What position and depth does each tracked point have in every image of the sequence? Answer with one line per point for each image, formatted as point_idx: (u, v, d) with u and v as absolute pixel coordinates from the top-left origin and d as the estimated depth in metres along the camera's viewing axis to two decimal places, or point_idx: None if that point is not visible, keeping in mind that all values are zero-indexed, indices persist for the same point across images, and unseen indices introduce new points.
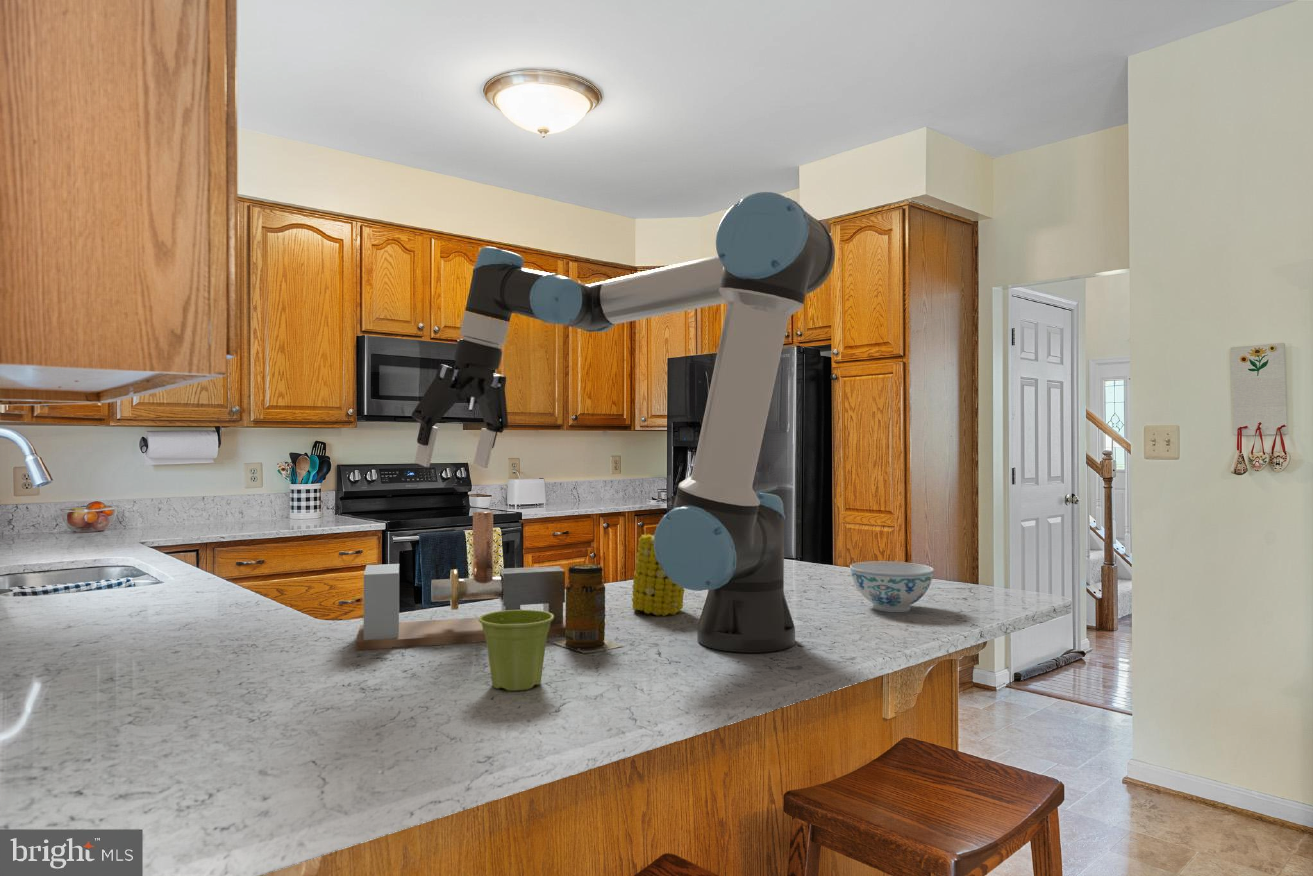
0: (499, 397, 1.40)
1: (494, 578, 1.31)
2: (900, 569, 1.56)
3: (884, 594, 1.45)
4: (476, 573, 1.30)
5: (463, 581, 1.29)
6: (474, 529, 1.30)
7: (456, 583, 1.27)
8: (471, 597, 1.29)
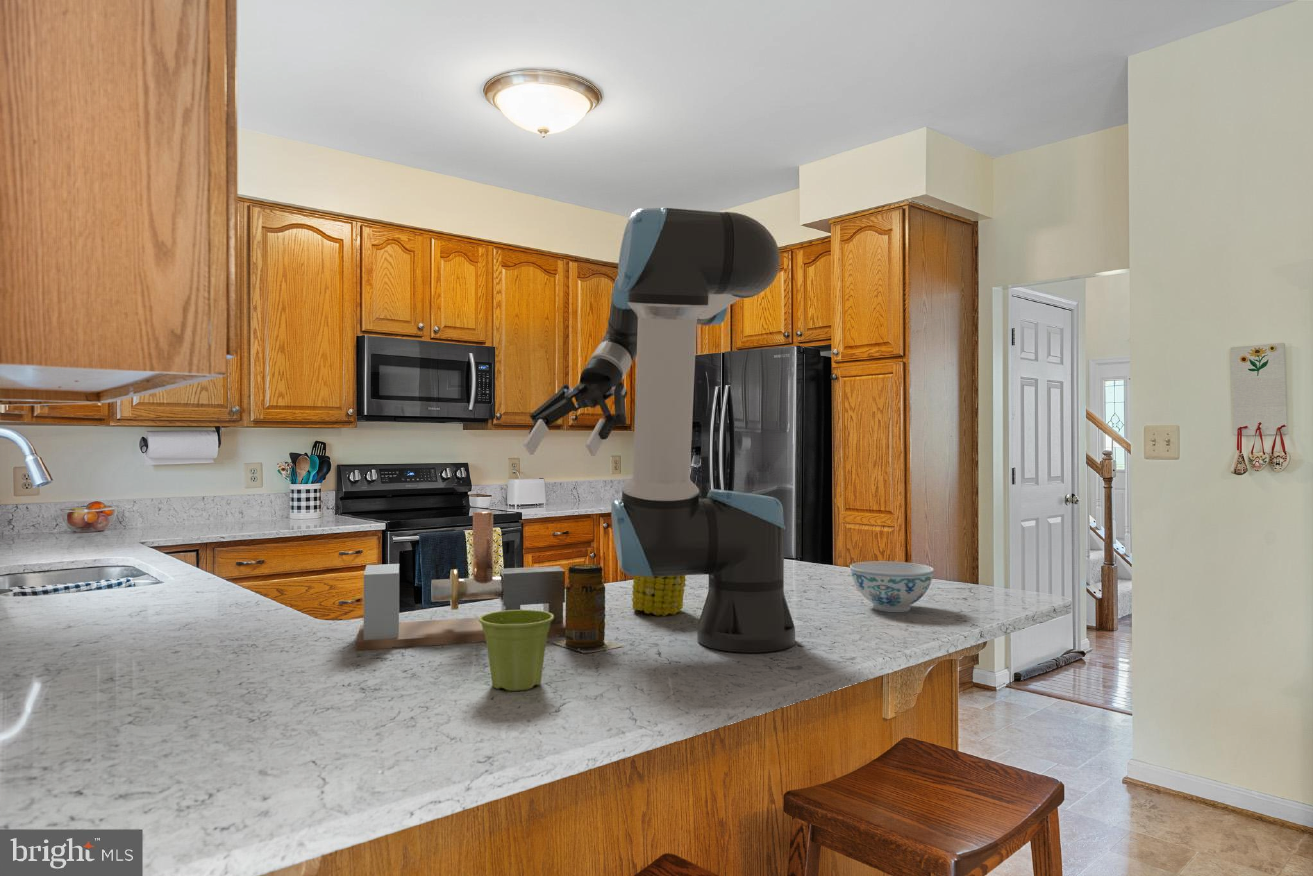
0: None
1: (494, 578, 1.31)
2: (900, 569, 1.56)
3: (884, 594, 1.45)
4: (476, 573, 1.30)
5: (463, 581, 1.29)
6: (474, 529, 1.30)
7: (456, 583, 1.27)
8: (471, 597, 1.29)
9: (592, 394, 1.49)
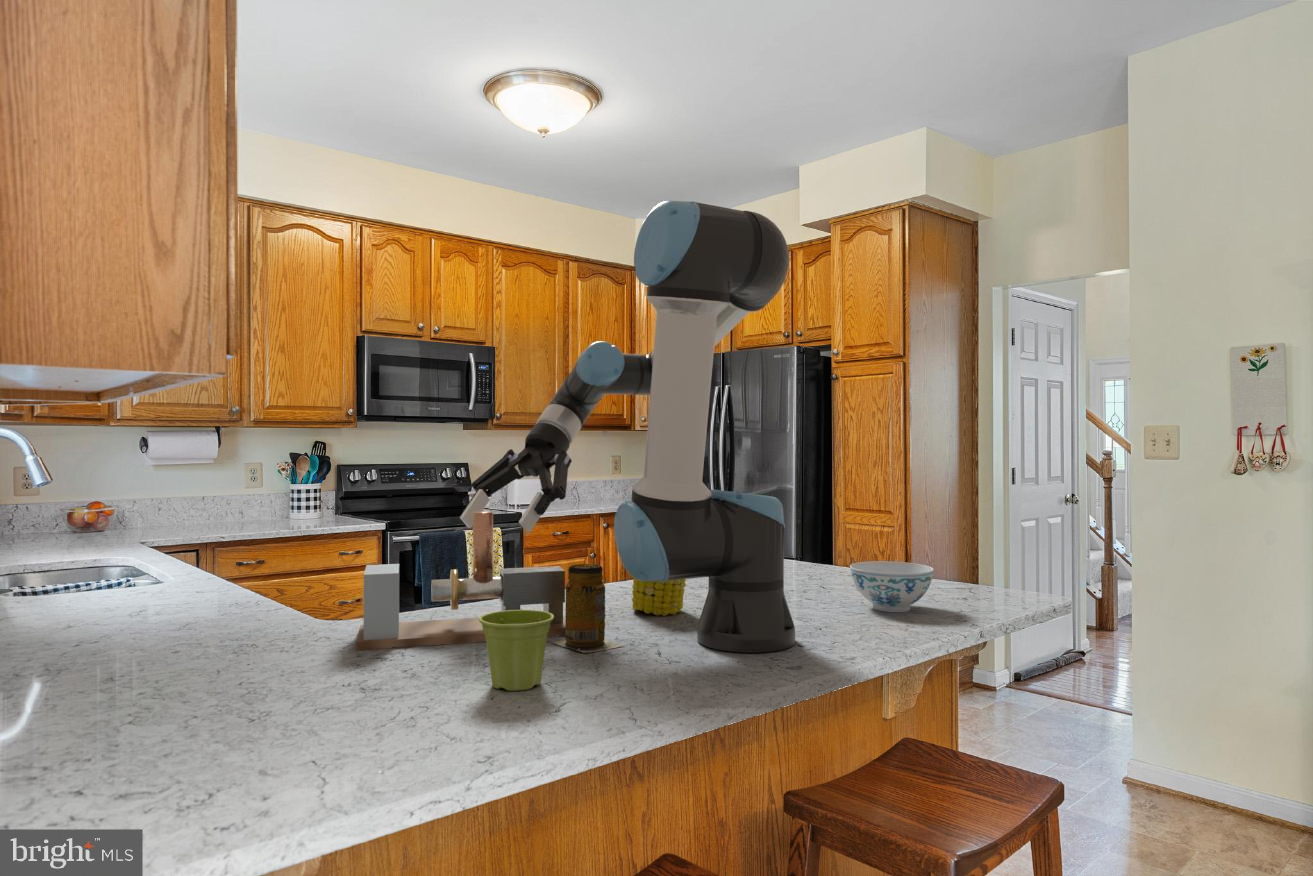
0: None
1: (494, 578, 1.31)
2: (900, 569, 1.56)
3: (883, 594, 1.45)
4: (476, 573, 1.30)
5: (463, 581, 1.29)
6: (474, 529, 1.30)
7: (456, 583, 1.27)
8: (471, 597, 1.29)
9: (534, 462, 1.41)
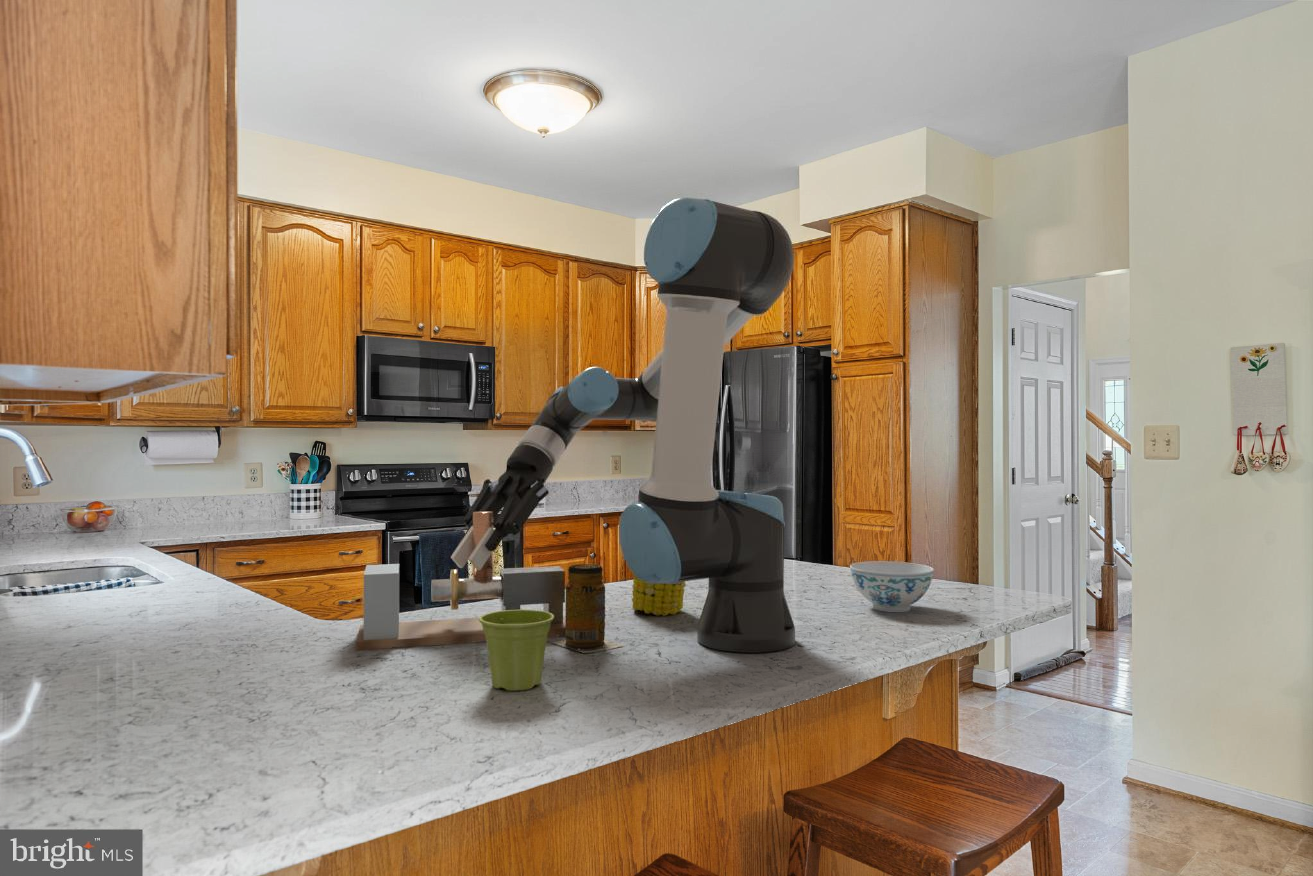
0: None
1: (494, 578, 1.31)
2: (900, 569, 1.56)
3: (884, 594, 1.45)
4: (476, 573, 1.30)
5: (463, 581, 1.29)
6: (474, 529, 1.30)
7: (456, 583, 1.27)
8: (471, 597, 1.29)
9: None
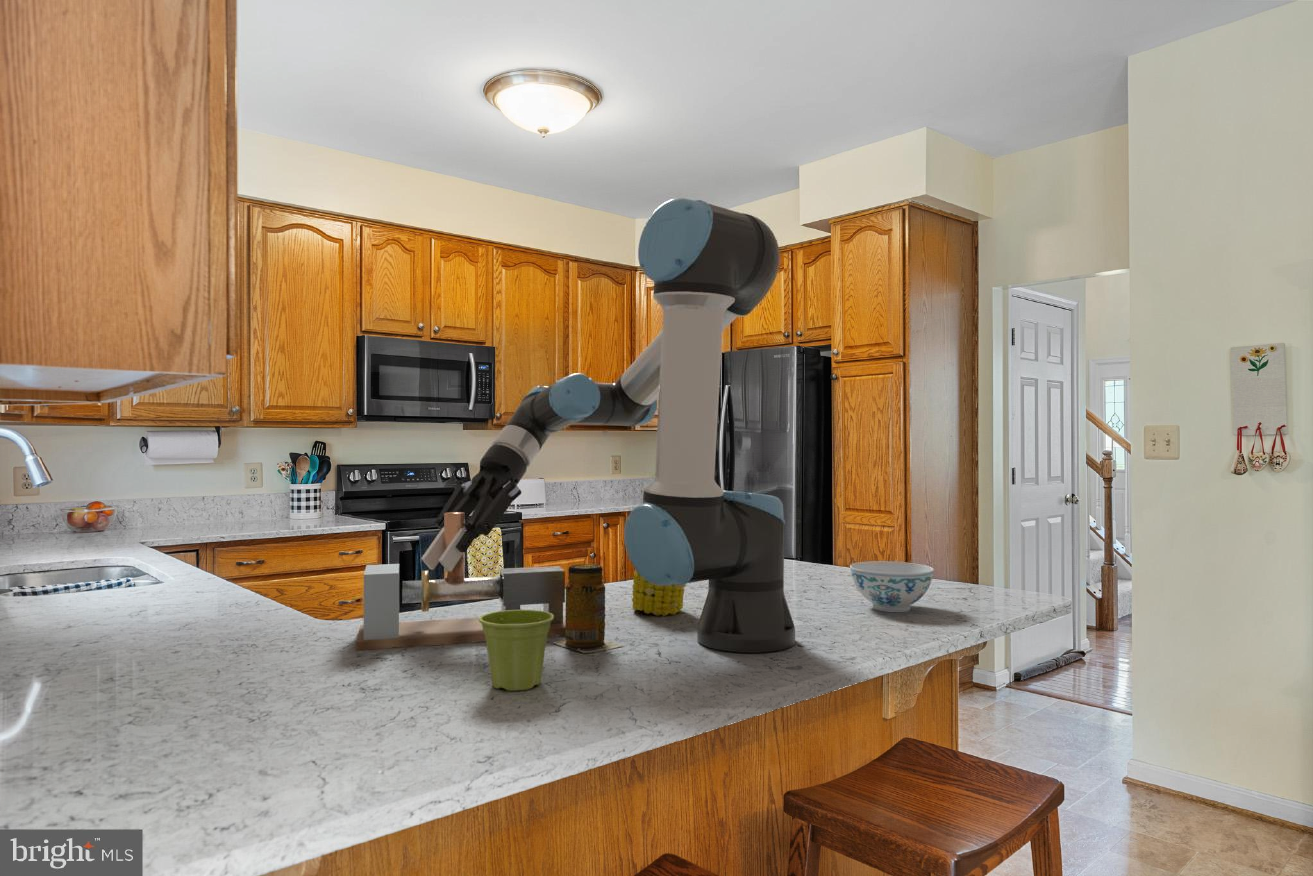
0: None
1: (466, 579, 1.30)
2: (900, 569, 1.56)
3: (884, 594, 1.45)
4: (447, 574, 1.28)
5: (434, 583, 1.28)
6: (445, 530, 1.29)
7: (427, 584, 1.26)
8: (442, 599, 1.28)
9: None
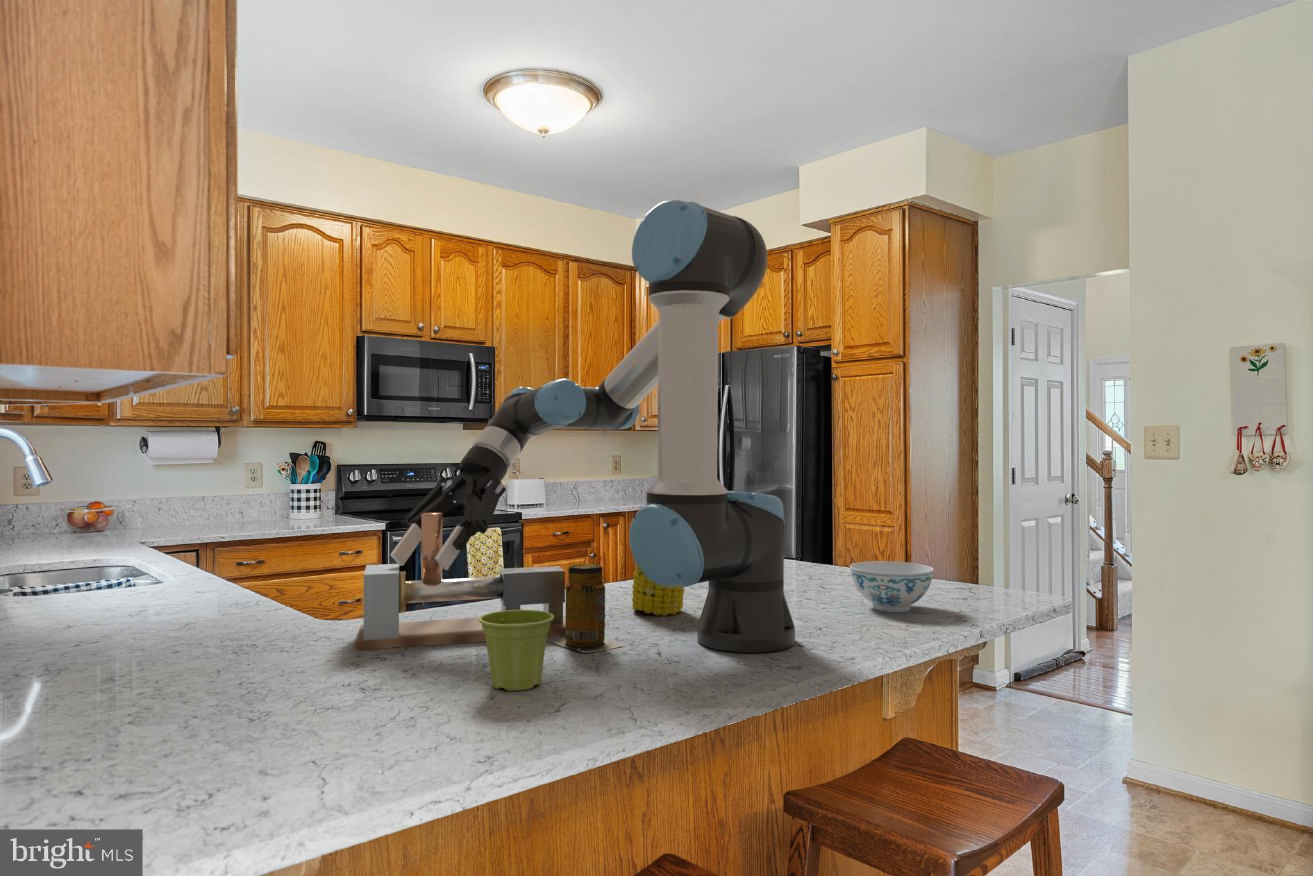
0: (484, 496, 1.30)
1: (443, 580, 1.29)
2: (900, 569, 1.56)
3: (884, 594, 1.45)
4: (424, 575, 1.27)
5: (410, 584, 1.27)
6: (422, 531, 1.28)
7: (403, 585, 1.25)
8: (419, 600, 1.27)
9: None
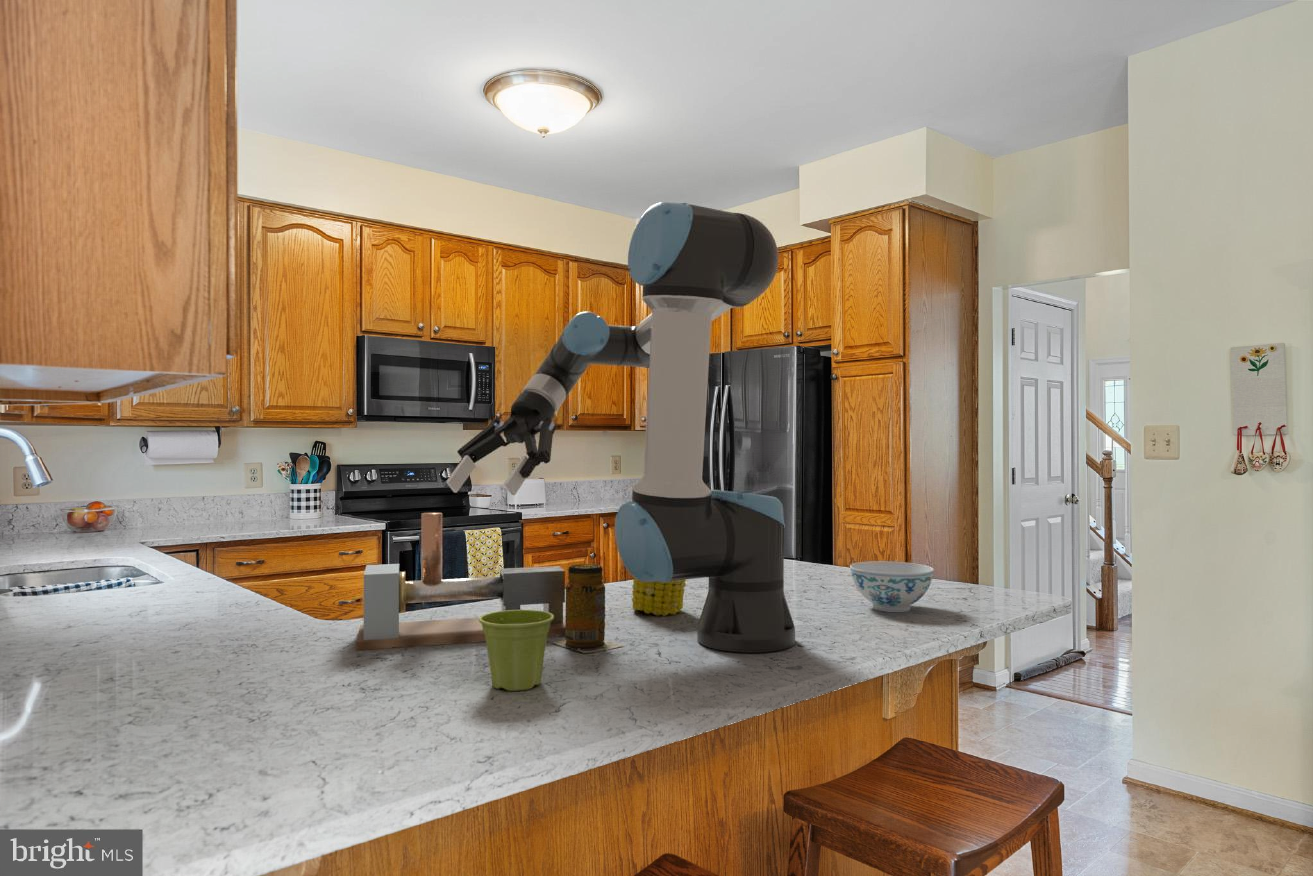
0: None
1: (443, 580, 1.29)
2: (900, 569, 1.56)
3: (884, 594, 1.45)
4: (424, 575, 1.27)
5: (410, 584, 1.27)
6: (422, 531, 1.28)
7: (403, 585, 1.25)
8: (419, 600, 1.27)
9: (520, 429, 1.44)
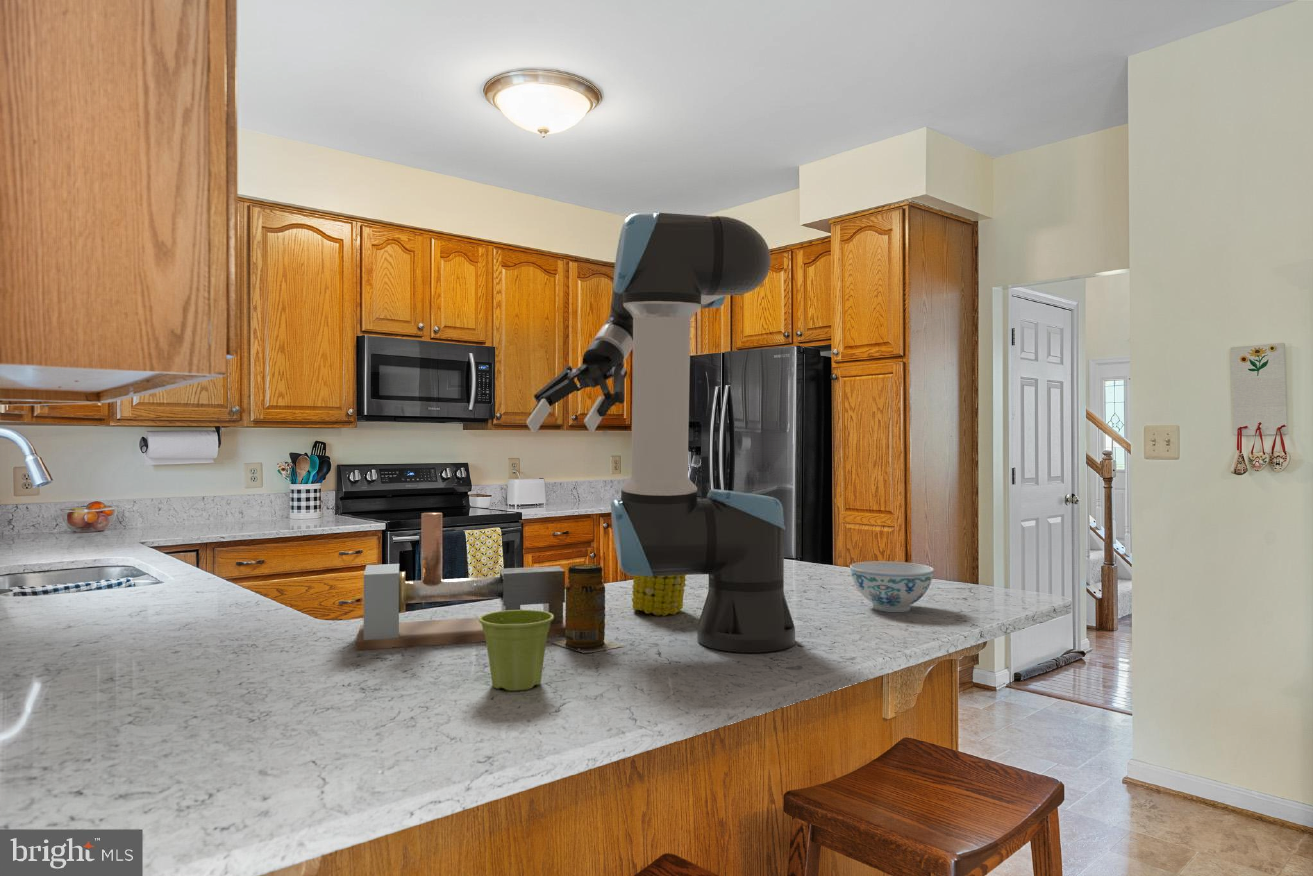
0: (614, 376, 1.51)
1: (443, 580, 1.29)
2: (900, 569, 1.56)
3: (883, 593, 1.45)
4: (424, 575, 1.27)
5: (410, 584, 1.27)
6: (422, 531, 1.28)
7: (403, 585, 1.25)
8: (419, 600, 1.27)
9: (593, 374, 1.54)
